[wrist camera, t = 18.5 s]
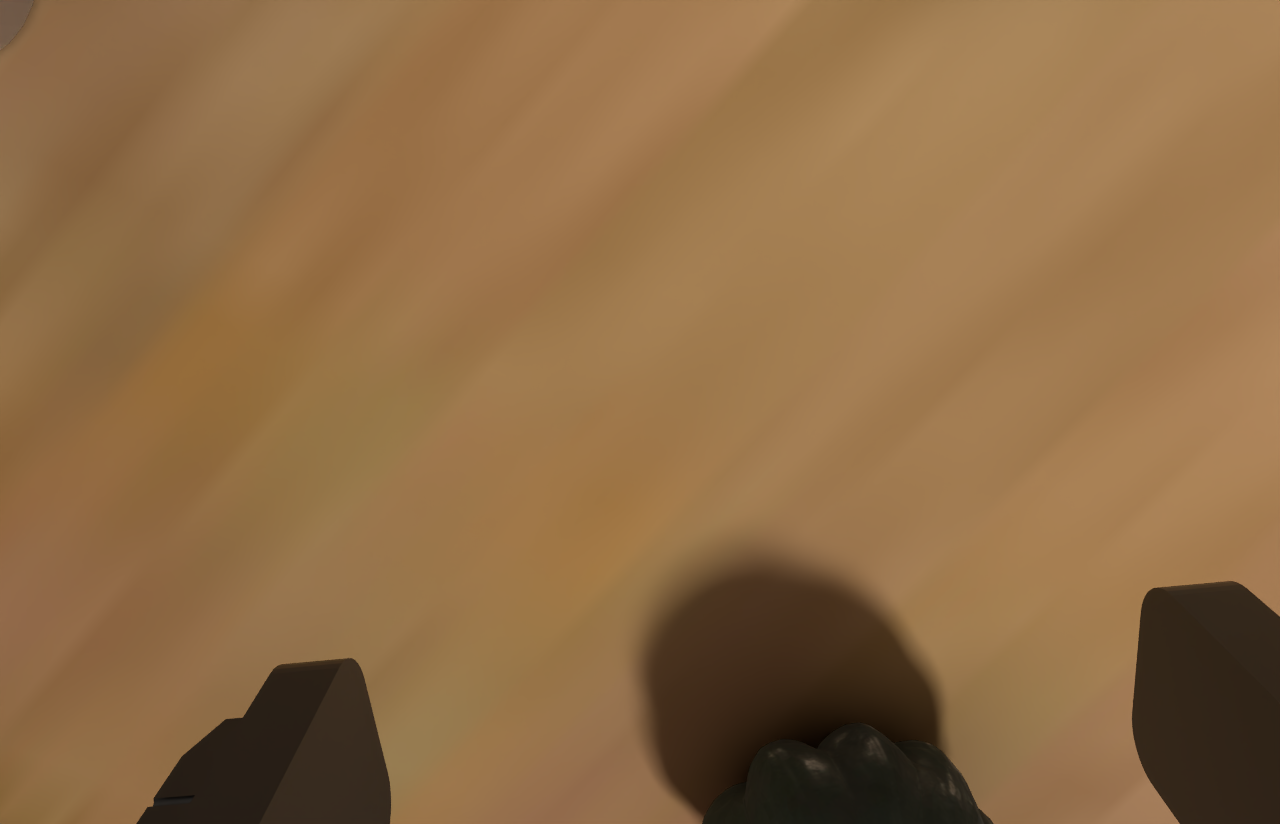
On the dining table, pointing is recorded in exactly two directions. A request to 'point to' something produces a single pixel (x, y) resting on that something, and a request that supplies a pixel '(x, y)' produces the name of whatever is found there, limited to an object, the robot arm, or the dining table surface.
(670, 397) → the dining table surface
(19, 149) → the dining table surface
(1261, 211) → the dining table surface
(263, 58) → the dining table surface
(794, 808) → the squash
